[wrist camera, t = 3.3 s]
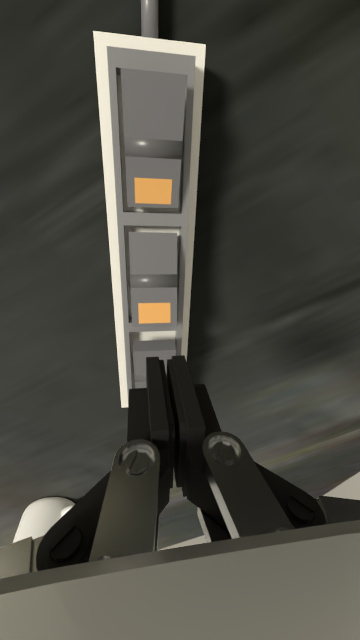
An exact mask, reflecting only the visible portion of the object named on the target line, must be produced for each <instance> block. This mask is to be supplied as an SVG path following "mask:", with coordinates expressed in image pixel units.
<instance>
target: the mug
mask: <svg viewBox="0 0 360 640" xmlns="http://www.w3.org/2000/svg"><path fill="white" fill-rule="evenodd" d="M74 505H75V503H74V502H72V501H70V500H68V499H66V498H61V497H46V498H42V499H39V500H36V501H34V502H33V503H31V504H30V505H29V506H28V507H27V508H26V510H25V511H24V513H23V515H22V518H21V521H20V523H19V526H18V529H17V532H16V535H15V538H14V541H13V543H15V542H17V541H20V540H23V539H25V538H28V537H31V536H32V539H36V538H38V537H41V536H43V535H45V534H46V533H47V531H48V530H49V529H50V528H51V527H52V526H53V525H54V524H55V523H56V522H57V521H58V520H59V519H60V518H61V517H62V516H63V515H64V514H66V513H67V512H68V511H69V510H70V509H71V508H72V507H73V506H74Z"/></svg>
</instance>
